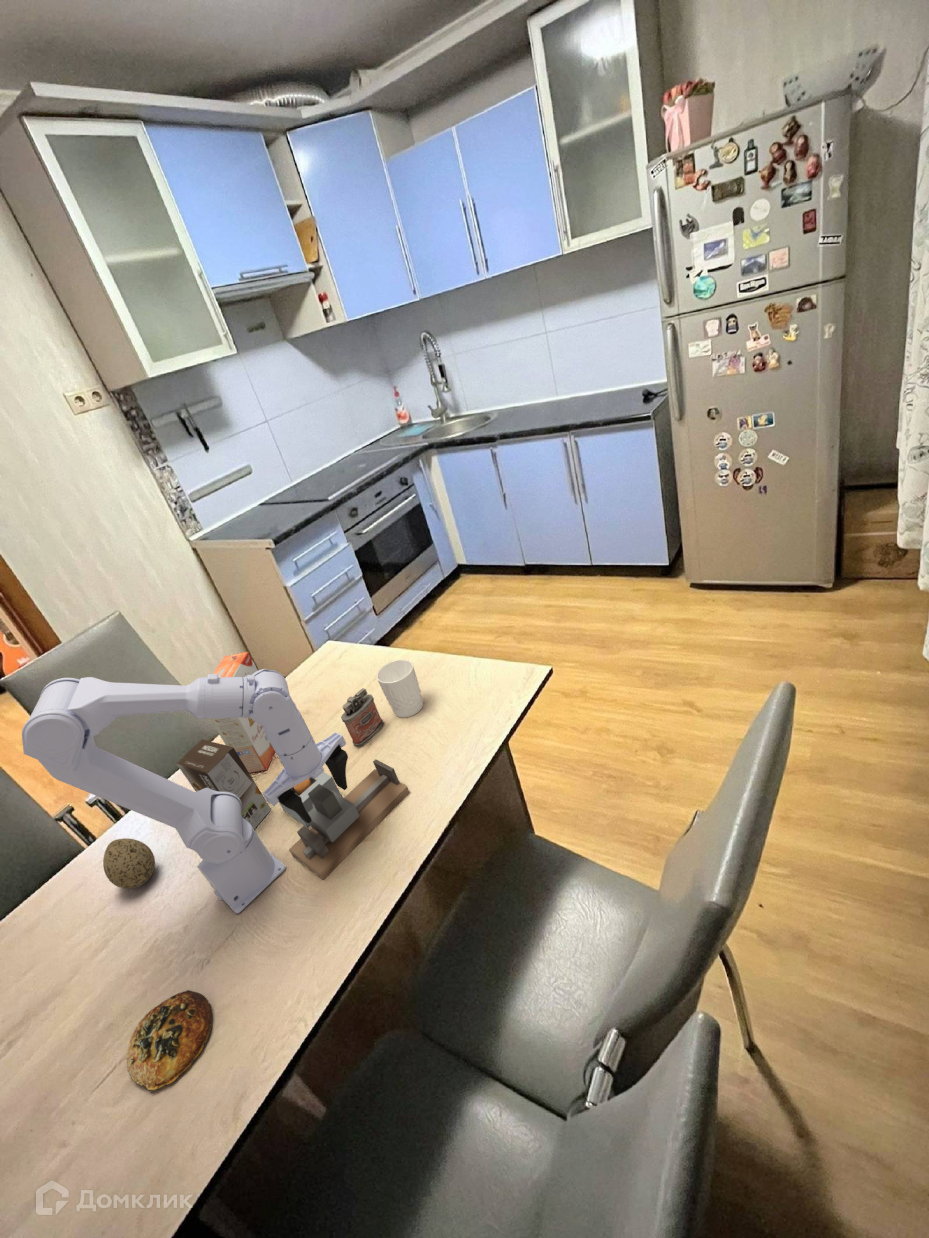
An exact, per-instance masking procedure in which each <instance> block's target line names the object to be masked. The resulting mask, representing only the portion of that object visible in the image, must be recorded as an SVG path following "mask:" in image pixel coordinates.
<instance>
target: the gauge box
mask: <svg viewBox="0 0 929 1238" xmlns="http://www.w3.org/2000/svg"><path fill="white" fill-rule="evenodd" d="M309 779H310V781H311V783H312V785H311V786H310V787H309V788H308V789H306V790H305V791H304V792H303V793H302V794H301V795H300V797H301V799H302V802H303V805H304V808H305V810H306V811H307V813H308V812H309V811H311V810H312V809H313V808H314V807H315V806H314V804H313V803H312V801H311V799H310V797H309V795H308V793H309V792H310V791H312V790H313V789H314V788H315V787H316V786H317V785H318V784H320V785H322V786H323V787H325V788H327V789H328V790H330V791H334V792H335V793H337V794H339V795H340V796H342V794H341V792H340V789H339V787H338V786H337V784H336V783H335V781H334V779H333V777H332V775H330V774H328V773H326V772H325V771H324V772H323V773H322V774H320V775H319V776H318V777H317V778H312V777H310V778H309ZM291 790H293V791H294V792H295V794H297V793H296V791H295V789H294V787H292V788H291ZM297 795H298V794H297ZM298 796H299V795H298ZM278 804H279V805H280V807H281V809H282V810H283V811H285V812H286V813H287V814H289V816H291V817H292V818H294V819H295V820H297V821H298V822H299V823H300V824H302V826H306V827H307V828H308V827H309V826H310V824H309V823H306V822H305V821H304V820H302V819H301V817H300V816H299V815H298V814H297V813H296V812H295V811H293V810H291V809H289V808H287V807H285V806H284V805H282V804H281V803H280V802H279V803H278Z"/></svg>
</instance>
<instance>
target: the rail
mask: <svg viewBox="0 0 929 1238" xmlns="http://www.w3.org/2000/svg"><path fill="white" fill-rule="evenodd" d="M372 764H373V765H374V769H373V770H372V771H371V772H370V773H369V774H368V775H366V776H365V778H363V779H362V780H361V781H360V782H359V783H358V784H357V785H356V786H355V787H353V789H352V790H350V792H348V793H347V795H345V796H344V797H343V798H345V799H347V800H348V801H350V802H352V803H353V804H354V805H355V807H356V809H357V811H358V813H359V815H360V816H359V817H358V818H357V819H356V820H355V821H354V822H353V823H352V824H351V825H350V826H349V827H348V828H347V829H346V830H345V831H344V832H343V833H342V834H341V835H340V836H339V837H338V838H337V839H336V840H335V841H334V842H333V843H332V842H331V841H330V840H328V839H327V838H325V837H324V836H323V835H321V834H320V833H319V832H317V831H316V830H314V829H313V828H312V827H311V828H308V827H306V826H305V825H302V827H301V828H299V829H298V830H297V831H296V833H297V835H298V836H299V839H298V840H297V841H296V842H295V843H294V844H293V845H292V846H290V848H289V849H288V850H289V852H290V854H291V855H292V856H293V858H295V859H296V860H298V861H299V862H300V863H301V864H303V865H304V866H305V867H306V868H307V869H308V870H310V871H312V873H314V874H315V875H316V876H318V877H319V878H320V879H321V880H322V881H324V880H325V879H326V878H327V877H328V876H329V875H330V874H331V873H332V872H333V871H334V870H335V868H337V867H338V866H339V865H340V864H341V863H342V862H343V860H345V859H346V858H347V857H348V856H349V855H350V854H351V852H353V850H355V848H357V847H358V846H359V844H360V843H361V842H362V841H363V840H365V838H366V837H368V835H370V833H372V831H373V830H374V829H375V828H376V827H377V826H378V825H379V824H380V823H381V822H382V821H383V820H384V819H385V818H386V817H387V816H388V814H390V813H391V812H392V810H394V809H395V807H397V806H398V805H399V804H400V803H401V802H402V801H403V800H404V798H405V797H406V796H407V795H408V794H409V793H410V790H409V788H408V786H407V785H405V784H404V783H401V781H400V780H399V777H398V775H397V772H396V771H395V769H394V767H391V766H389V765H388V764H386V763H383V762H382V761H380V760H378V759H374V760H373V761H372Z"/></svg>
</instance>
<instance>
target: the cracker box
mask: <svg viewBox="0 0 929 1238" xmlns="http://www.w3.org/2000/svg"><path fill="white" fill-rule="evenodd" d="M257 671H259V670H258V668H257V667H256V664H255V662H254V661H253V659H252V656H251V654H250V652H249V651H246V652H245V651H243V652H240V653H236V654H229V655H225V656H223V657H222V659H221V661H220V662H219V664H218V666H217V667H216V668H215V670H214V671H213V673H212V674H218V677H242V678H243V677H245V676H247V675H252V674H253V673H255V672H257ZM209 720H210V721H211V723H212V725H213V726H214V728H215V730H216V731H217V733H218V734H219V736H220V738H221V739H222V741H223V743H224V745H227V746H231V747H234V749H235V751H236V752H237V754H238V756H239V757H240V759H241V760H242V762H243V764H244V765H245V767H246V769H247V770H248V772H249V773H250V774H252V773H256V772H261V771H262V772H263V771H268V768H269V766H270V763H271V761H272V760H273V757H274V755H275V753H276V752H275V750H274V748H273V747H272V745H271V743H270V741H269V739H268V738H267V736H266V734H265V732H264V730H263V727H262V725H261V724H259V723H257V722H255V721H254V720H252V719H251V717H239V718H209Z"/></svg>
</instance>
